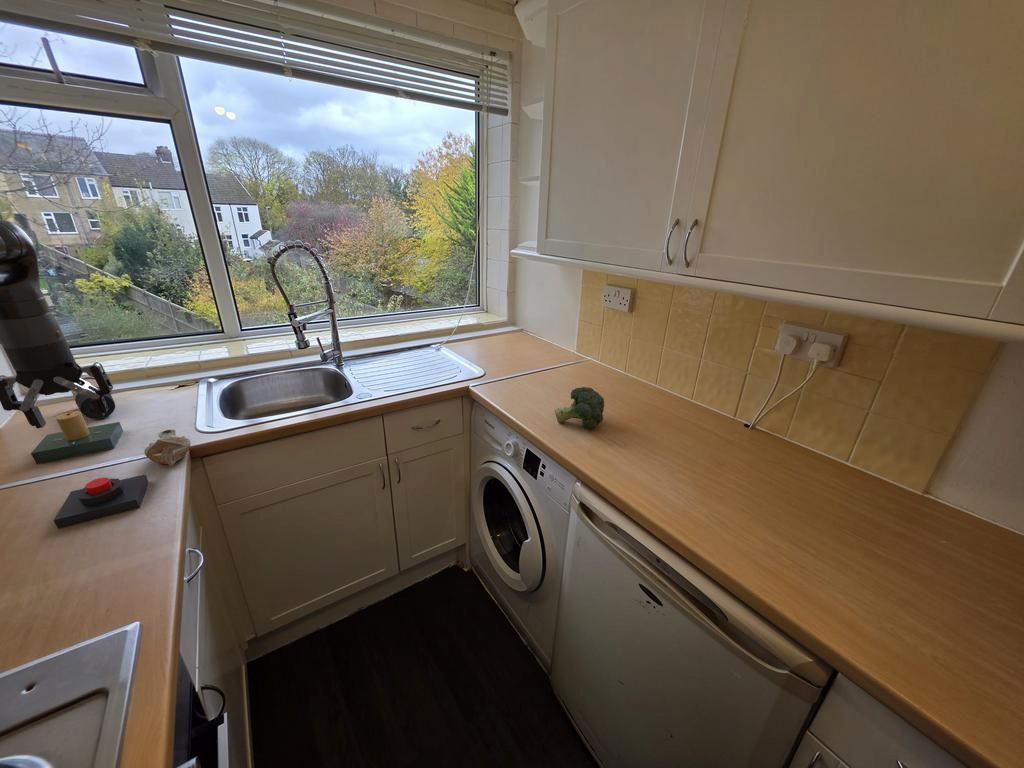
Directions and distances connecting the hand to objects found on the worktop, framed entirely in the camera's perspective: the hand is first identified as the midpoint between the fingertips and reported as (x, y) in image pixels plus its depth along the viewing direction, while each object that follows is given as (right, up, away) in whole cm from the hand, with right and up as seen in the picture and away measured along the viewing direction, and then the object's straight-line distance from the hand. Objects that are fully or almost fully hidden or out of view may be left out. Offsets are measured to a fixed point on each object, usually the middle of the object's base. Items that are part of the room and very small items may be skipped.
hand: (72, 420), depth 78 cm
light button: (+1, -15, +4) cm, 15 cm away
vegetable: (+105, -5, +41) cm, 112 cm away
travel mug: (-33, 0, +37) cm, 50 cm away
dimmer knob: (-25, -6, +24) cm, 35 cm away
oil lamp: (+1, -11, +22) cm, 25 cm away
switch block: (+1, -18, +6) cm, 19 cm away
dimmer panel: (-25, -9, +25) cm, 37 cm away
